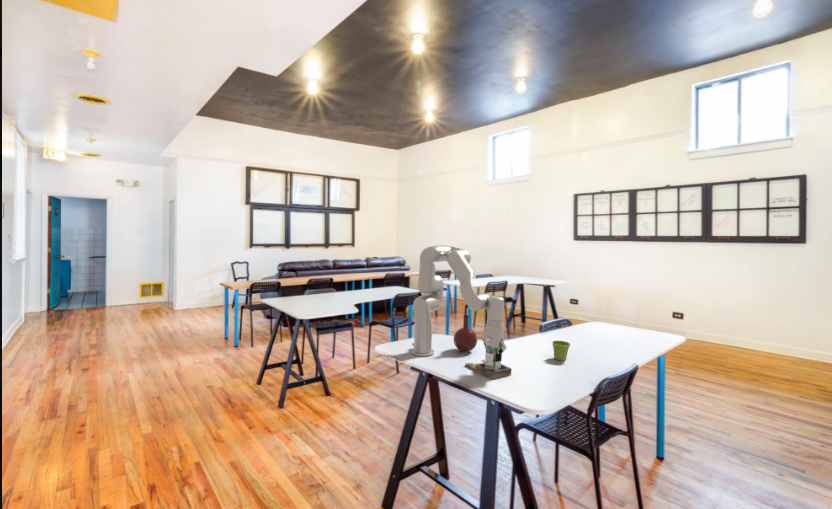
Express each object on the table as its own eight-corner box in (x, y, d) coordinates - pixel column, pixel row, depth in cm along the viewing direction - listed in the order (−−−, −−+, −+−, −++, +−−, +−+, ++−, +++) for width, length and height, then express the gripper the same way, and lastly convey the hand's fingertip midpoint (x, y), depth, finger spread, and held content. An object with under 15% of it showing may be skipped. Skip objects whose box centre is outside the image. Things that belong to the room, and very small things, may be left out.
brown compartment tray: (465, 366, 213) (465, 359, 213) (483, 362, 219) (483, 356, 219) (492, 379, 196) (492, 372, 196) (511, 374, 202) (511, 368, 202)
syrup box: (484, 367, 204) (485, 338, 203) (491, 364, 208) (493, 335, 207) (494, 370, 200) (495, 340, 199) (501, 368, 204) (502, 338, 203)
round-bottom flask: (476, 355, 230) (478, 319, 228) (452, 353, 232) (453, 317, 230) (477, 348, 242) (478, 314, 241) (453, 346, 244) (455, 312, 243)
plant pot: (570, 362, 223) (571, 346, 222) (552, 360, 225) (552, 344, 224) (568, 356, 232) (569, 341, 231) (550, 355, 234) (550, 339, 233)
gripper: (477, 319, 208) (475, 354, 209) (501, 327, 193) (499, 365, 195) (488, 317, 212) (487, 352, 213) (513, 325, 197) (511, 363, 199)
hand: (493, 358), depth 204 cm, fingers closed on syrup box, 6 cm apart
